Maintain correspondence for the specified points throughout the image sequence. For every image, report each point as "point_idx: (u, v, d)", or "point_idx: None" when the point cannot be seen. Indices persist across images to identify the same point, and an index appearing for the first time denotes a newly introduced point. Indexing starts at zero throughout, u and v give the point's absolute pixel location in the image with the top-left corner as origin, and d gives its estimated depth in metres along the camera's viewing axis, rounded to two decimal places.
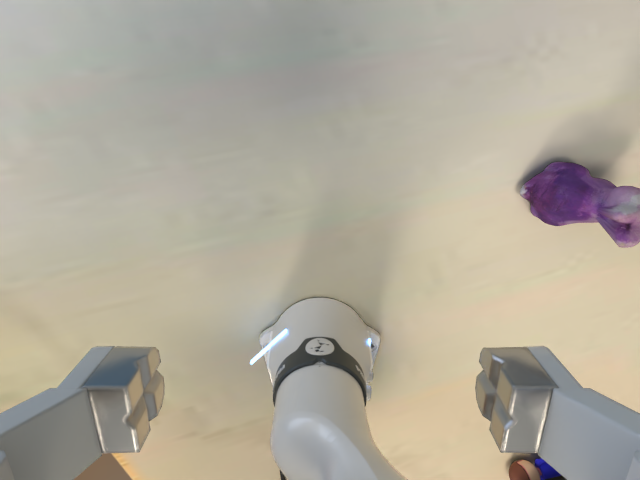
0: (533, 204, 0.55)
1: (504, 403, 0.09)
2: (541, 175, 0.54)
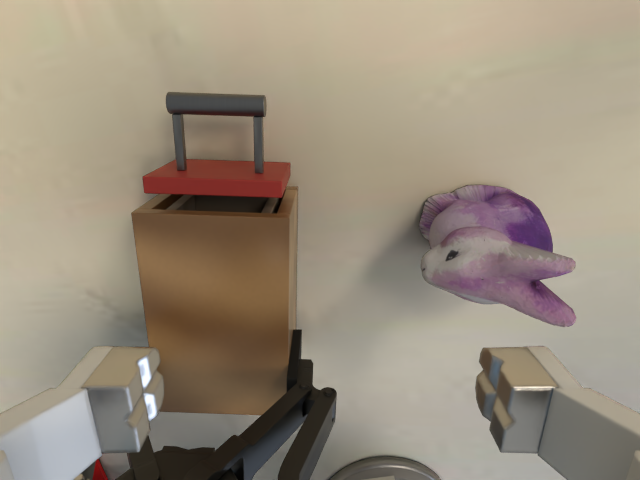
0: None
1: (504, 403, 0.09)
2: None
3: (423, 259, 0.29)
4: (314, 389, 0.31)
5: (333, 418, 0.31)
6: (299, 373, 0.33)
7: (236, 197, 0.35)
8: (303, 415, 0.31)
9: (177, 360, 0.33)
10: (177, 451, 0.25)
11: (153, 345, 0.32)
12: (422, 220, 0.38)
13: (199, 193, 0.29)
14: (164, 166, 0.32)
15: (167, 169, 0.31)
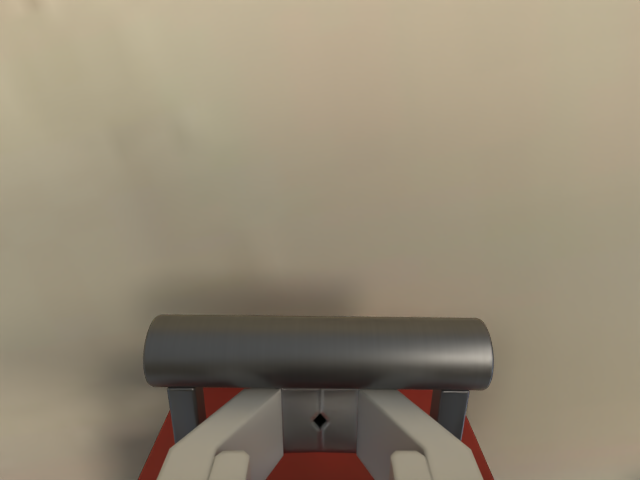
0: None
1: None
2: None
3: None
4: None
5: None
6: None
7: None
8: None
9: None
10: None
11: None
12: None
13: None
14: (148, 471, 0.11)
15: None
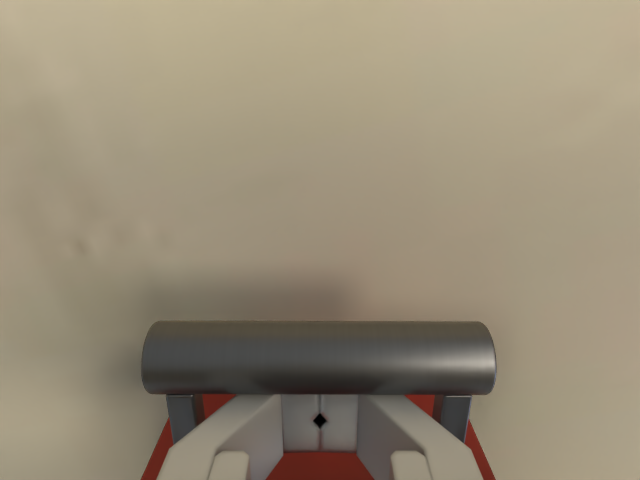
0: None
1: None
2: None
3: None
4: None
5: None
6: None
7: None
8: None
9: None
10: None
11: None
12: None
13: None
14: (148, 477, 0.11)
15: None
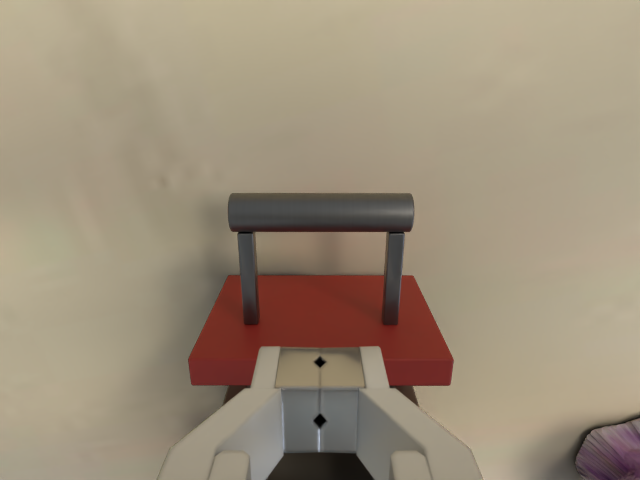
0: None
1: None
2: None
3: None
4: None
5: None
6: None
7: None
8: None
9: None
10: None
11: None
12: (581, 458, 0.27)
13: None
14: (217, 307, 0.19)
15: (225, 320, 0.18)
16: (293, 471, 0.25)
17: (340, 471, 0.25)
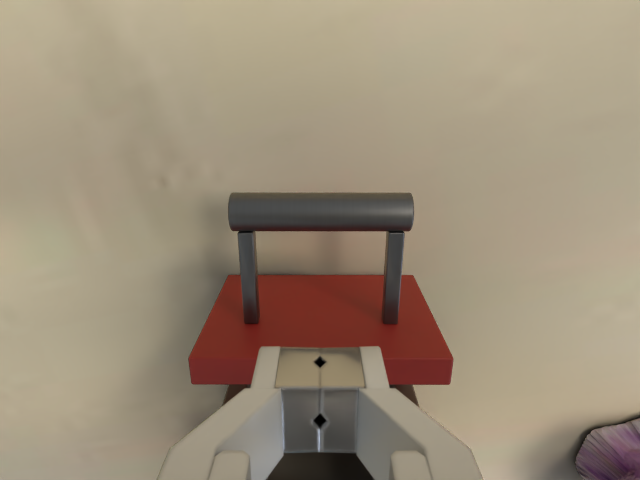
0: None
1: None
2: None
3: None
4: None
5: None
6: None
7: None
8: None
9: None
10: None
11: None
12: (581, 458, 0.27)
13: None
14: (217, 307, 0.19)
15: (225, 320, 0.18)
16: (293, 471, 0.25)
17: (339, 470, 0.25)
